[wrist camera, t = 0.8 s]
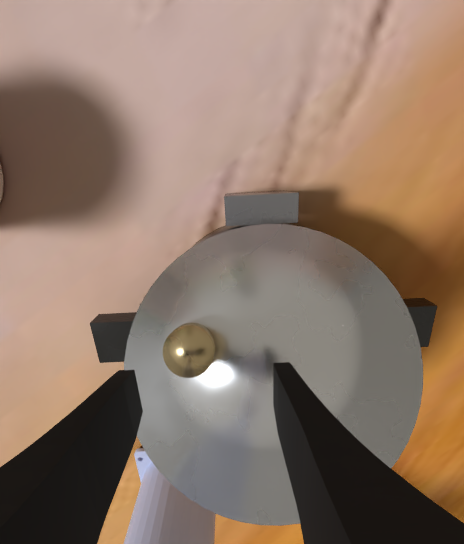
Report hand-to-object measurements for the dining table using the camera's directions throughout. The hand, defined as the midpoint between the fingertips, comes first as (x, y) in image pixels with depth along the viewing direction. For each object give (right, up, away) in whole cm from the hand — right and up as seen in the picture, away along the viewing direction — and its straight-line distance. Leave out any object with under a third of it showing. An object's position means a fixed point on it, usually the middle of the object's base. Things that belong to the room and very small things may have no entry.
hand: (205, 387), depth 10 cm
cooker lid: (+3, -1, +4) cm, 5 cm away
